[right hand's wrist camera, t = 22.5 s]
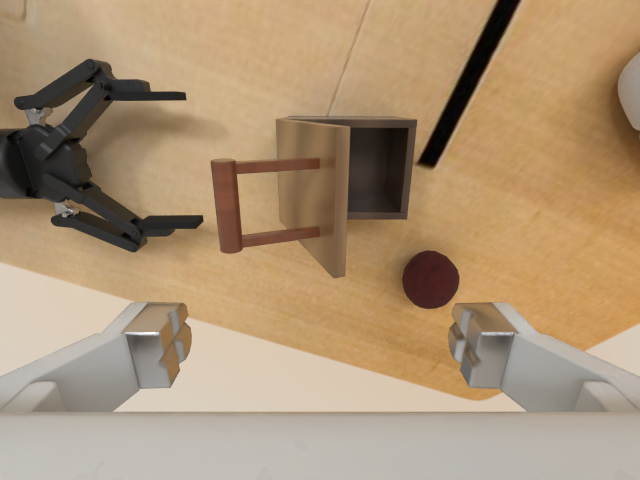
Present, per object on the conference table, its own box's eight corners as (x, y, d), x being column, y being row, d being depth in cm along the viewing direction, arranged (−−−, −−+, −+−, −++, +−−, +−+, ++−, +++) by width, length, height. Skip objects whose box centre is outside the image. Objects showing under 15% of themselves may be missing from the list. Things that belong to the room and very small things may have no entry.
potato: (398, 294, 50) (410, 322, 44) (395, 246, 48) (407, 268, 41) (448, 288, 50) (468, 315, 43) (448, 239, 47) (469, 261, 41)
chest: (395, 116, 41) (417, 119, 32) (389, 197, 45) (407, 219, 36) (289, 116, 41) (280, 118, 32) (291, 196, 45) (284, 219, 36)
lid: (351, 126, 20) (211, 128, 17) (345, 276, 24) (229, 298, 21) (285, 119, 32) (195, 119, 29) (288, 220, 36) (209, 229, 33)
